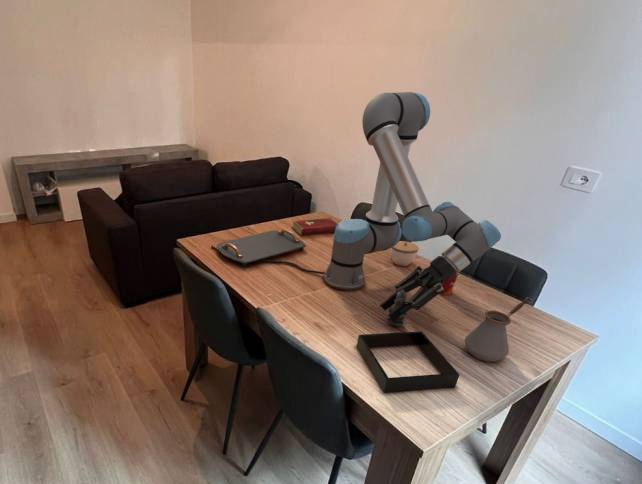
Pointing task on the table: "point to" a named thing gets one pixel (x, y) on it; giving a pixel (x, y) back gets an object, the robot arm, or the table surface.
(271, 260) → the robot arm
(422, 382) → the black square frame
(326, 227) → the hardcover book
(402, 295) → the chess piece
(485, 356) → the coffee pot
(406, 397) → the table surface
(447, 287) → the paper cup
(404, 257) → the trinket box
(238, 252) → the serving tray
